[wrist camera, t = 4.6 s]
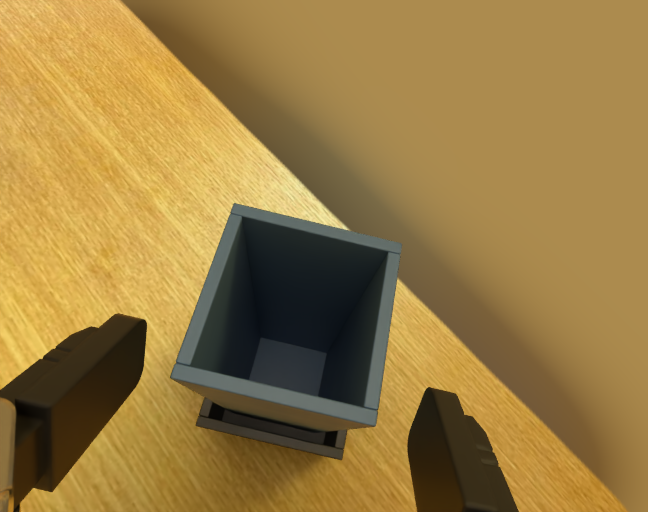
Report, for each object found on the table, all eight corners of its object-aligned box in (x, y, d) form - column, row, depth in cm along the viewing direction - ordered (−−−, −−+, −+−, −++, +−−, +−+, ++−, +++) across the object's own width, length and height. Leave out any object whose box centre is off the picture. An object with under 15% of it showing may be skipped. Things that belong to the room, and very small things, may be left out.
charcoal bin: (328, 455, 26) (342, 460, 20) (212, 428, 25) (195, 425, 20) (349, 340, 29) (366, 317, 23) (246, 315, 29) (240, 287, 23)
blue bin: (315, 432, 26) (376, 427, 10) (233, 413, 26) (169, 378, 10) (332, 350, 28) (402, 243, 12) (257, 332, 28) (233, 202, 12)
